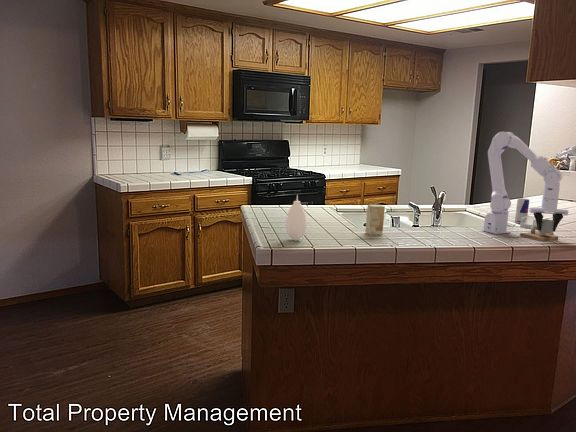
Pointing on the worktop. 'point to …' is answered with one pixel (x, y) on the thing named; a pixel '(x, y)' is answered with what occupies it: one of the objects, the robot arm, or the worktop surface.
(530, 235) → the pin block
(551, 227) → the sleeve
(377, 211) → the skincare box
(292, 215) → the sauce bottle
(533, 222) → the feeder chute
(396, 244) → the worktop surface
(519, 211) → the energy drink
